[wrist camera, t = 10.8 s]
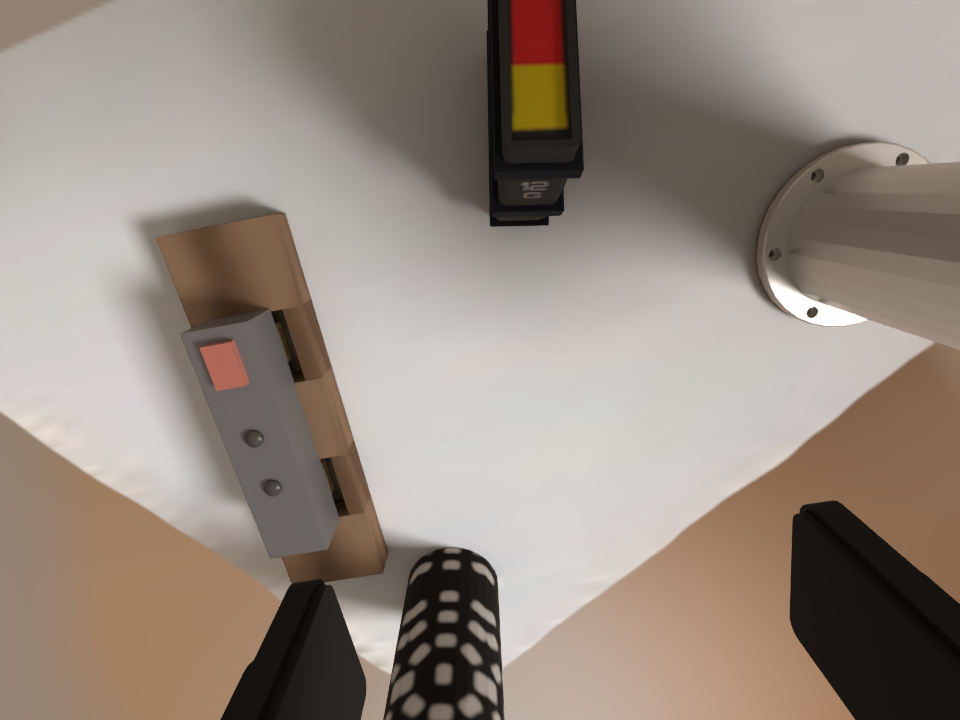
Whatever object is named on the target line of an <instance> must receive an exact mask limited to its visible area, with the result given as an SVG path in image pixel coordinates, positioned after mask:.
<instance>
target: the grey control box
mask: <svg viewBox="0 0 960 720" xmlns="http://www.w3.org/2000/svg"><path fill="white" fill-rule="evenodd" d="M180 335H181V337H182V340H183V342H184V345H185V347H186V350H187V352H188V355H189V357H190V360H191V362H192V364H193V367H194V369H195V372H196V374H197V377H198V379H199V382H200V384H201V387H202V389H203V392H204V394H205V397H206V399H207V402H208V404H209V407H210V409H211V412H212V414H213V417H214V419H215V422H216V424H217V427H218V429H219V432H220V434H221V437H222V439H223V442H224V444H225V447H226V449H227V452H228V454H229V457H230V459H231V462H232V464H233V467H234V469H235V472H236V474H237V477H238V479H239V482H240V484H241V487H242V489H243V492H244V494H245V497H246V499H247V502H248V504H249V507H250V509H251V512H252V514H253V517H254V519H255V522H256V524H257V527H258V529H259V532H260V534H261V537H262V539H263V542H264V544H265V547H266V549H267V552H268V554H269V557H270V558H277V557H283V556H289V555H296V554H302V553H309V552H315V551H322V550H328V547H329V545H330V543H331V540H332V538H333V535H334V533H335V531H336V528H337V526H338V524H339V521H340V518H339V515H338V512H337V509H336V506H335V503H334V500H333V497H332V493H333V491H334V489H335V488H334V485H333V482H332V479H331V476H330V473H329V470H328V467H327V464H326V461H325V458H323V459H320V458H319V455H318V452H317V449H316V446H315V443H314V440H313V437H312V434H311V431H310V428H309V425H308V422H307V419H306V416H305V413H304V410H303V407H302V404H301V401H300V398H299V395H298V392H297V389H296V386H295V383H294V380H293V377H292V374H291V371H290V368H289V365H288V362H289V361H290V360H291V359H292V357H291V354H290V351H289V348H288V345H287V342H286V339H285V336H284V333H283V329H282V326H281V323H280V322H277V323H274V320H273V317H272V314H271V311H270V309H266V310H261V311H255V312H250V313H244V314H239V315H233V316H228V317H223V318H217V319H212V320H208V321H206V322H204V323H202V324H200V325H197V326H195V327H193V328H191V329H189V330H187V331H185V332H183V333H181V334H180Z"/></svg>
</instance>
